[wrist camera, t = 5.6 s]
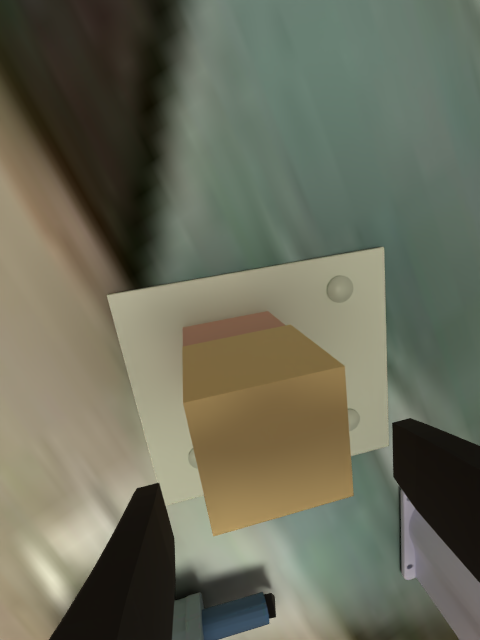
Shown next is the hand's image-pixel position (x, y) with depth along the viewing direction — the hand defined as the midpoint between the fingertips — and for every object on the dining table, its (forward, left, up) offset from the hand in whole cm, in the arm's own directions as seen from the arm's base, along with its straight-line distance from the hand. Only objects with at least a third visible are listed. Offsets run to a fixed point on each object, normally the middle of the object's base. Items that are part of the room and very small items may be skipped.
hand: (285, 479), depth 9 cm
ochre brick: (0, 0, -6) cm, 6 cm away
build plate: (-2, -2, -10) cm, 11 cm away
